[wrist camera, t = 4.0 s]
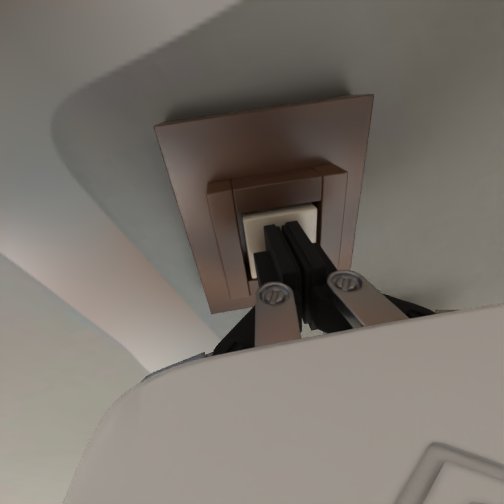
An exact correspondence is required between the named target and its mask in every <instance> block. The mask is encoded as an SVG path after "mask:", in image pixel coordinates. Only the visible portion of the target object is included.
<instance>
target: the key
mask: <svg viewBox="0 0 504 504" xmlns="http://www.w3.org/2000/svg"><path fill="white" fill-rule="evenodd" d="M241 216H242V223H243V229H244V235H245V242H246V248H247V255H248V261H249V266H250V272H251V277H252V278H257V275H256V269H255V262H254V255H253V253H256V252H262V251H266V247H265V238H264V226H266V225H272V224H275V226H276V227H277V226H279V227H280V229H281V231H282V226H283V225H285V223H286V222H290V221H296V220H297V221H298V223H299V224H300V226H301V227H302V229H303V230H304V232H305V233H306V235H307V236H308V238H309V239H310V241H311V242H312V243H316V230H317V208H316V207H315V206H314V205H313V204H312V203H311V202H309V203H303V204H297V205H291V206H284V207H278V208H272V209H266V210H259V211H253V212H247V213H241Z"/></svg>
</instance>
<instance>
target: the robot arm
mask: <svg viewBox="0 0 504 504" xmlns="http://www.w3.org/2000/svg"><path fill="white" fill-rule="evenodd" d="M264 238H265V247H266V251H262V252H256V253H253V255H254V262H255V269H256V275H257V280H258V285H259V288H258V290H257V292H256V305H255V306H254V307H253V308H252V309H251V310H250V311H249V312H248V313H247V314H246V315H245V316H244V317H243V319H242V320H241V321H240V322H239V323H238V324H237V325H236V326H235V327H234V328H233V329H232V330H231V331H230V332H229V333H228V334H227V335H226V336H225V337H224V338H223V339H222V341H221V342H220V343H219V344H218V345H217V346H216V348H215V349H214V352H211V353H209V354H206V355H205V352H203V353H201V354H198V355H196V356H193V357H191V358H189V359H186V360H183V361H181V362H178V363H176V364H173V365H171V366H168V367H166V368H163V369H161V370H158V371H156V372H153V373H151V374H150V375H148V376H146V377H145V378H144V379H143V380H142V381H141V382H140V383H139V384H137V385H136V386H134V387H133V388H131V389H130V390H129V391H127V392H126V393H125V394H123V395H122V396H121V397H120V398H119V399H118V400H117V401H115V402H114V403H113V404H112V406H111V407H110V408H109V409H108V411H107V412H106V413H105V415H104V416H103V418H102V419H101V421H100V422H99V424H98V426H97V427H96V429H95V431H94V433H93V435H92V437H91V439H90V441H89V443H88V445H87V447H86V449H85V451H84V453H83V456H82V458H81V460H80V462H79V465H78V467H77V469H76V472H75V474H74V476H73V479H72V481H71V484H70V486H69V488H68V491H67V493H66V496H65V498H64V501H63V503H62V504H504V304H497V305H489V306H482V307H476V308H470V309H463V310H435V313H434V312H433V311H431V310H429V309H427V308H424V307H422V306H419V305H416V304H413V303H410V302H406V301H403V300H400V299H397V298H394V297H391V296H388V295H385V294H382V293H381V292H380V291H379V290H377V289H376V288H375V287H374V286H373V285H372V284H371V283H370V282H368V281H367V280H366V279H365V278H364V277H363V276H362V275H360V274H359V273H356V272H354V271H350V270H337V268H336V267H335V266H334V264H333V263H332V261H331V260H330V259H329V257H328V256H327V254H326V253H325V252H324V250H323V249H322V247H321V246H320V245H319V243H317V242H316V243H312V242H311V241H310V239H309V238H308V236H307V235H306V233H305V232H304V230H303V229H302V227H301V226H300V224H299V223H298V221H297V220H296V221H290V222H286V223H285V225H283V226H282V231H281V229H280V227H279V226H277V227H276V226H275V224H272V225H266V226H264ZM302 319H303V321H304V323H305V324H307V323H308V324H309V326H310V328H311V330H317V329H319V330H321V331H323V335H318V336H313V337H307V338H302V339H301V334H300V333H301V331H302Z"/></svg>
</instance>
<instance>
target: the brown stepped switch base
mask: <svg viewBox="0 0 504 504" xmlns="http://www.w3.org/2000/svg"><path fill="white" fill-rule="evenodd" d="M373 100H374V94H364V95H348V96H341V97H334V98H327V99H321V100H314V101H307V102H300V103H293V104H286V105H279V106H272V107H265V108H258V109H251V110H245V111H238V112H231V113H224V114H217V115H210V116H203V117H196V118H189V119H182V120H175V121H169V122H163V123H160V124H158V125H155V126H154V130H155V133H156V136H157V139H158V143H159V146H160V149H161V152H162V156H163V159H164V162H165V165H166V169H167V172H168V175H169V178H170V181H171V185H172V188H173V191H174V194H175V198H176V201H177V204H178V207H179V211H180V214H181V217H182V220H183V224H184V227H185V230H186V233H187V236H188V240H189V243H190V246H191V249H192V253H193V256H194V259H195V262H196V266H197V269H198V272H199V275H200V279H201V282H202V285H203V288H204V291H205V295H206V298H207V301H208V304H209V308H210V311H211V314H215V313H220V312H226V311H232V310H238V309H243V308H249V307H254V306H255V305H256V292H257V290H258V288H259V285H258V280H257V278H252V277H251V272H250V266H249V261H248V255H247V248H246V242H245V235H244V229H243V223H242V216H241V213H247V212H253V211H259V210H266V209H272V208H278V207H284V206H291V205H297V204H303V203H309V202H311V203H312V204H313V205H314V206H315V207H316V208H317V230H316V242H317V243H319V245H320V246H321V247H322V249H323V250H324V252H325V253H326V254H327V256H328V257H329V259H330V260H331V261H332V263H333V264H334V266H335V267H336V268H337V270H350V267H351V259H352V252H353V245H354V238H355V230H356V223H357V216H358V209H359V201H360V194H361V187H362V179H363V172H364V165H365V158H366V150H367V143H368V136H369V129H370V121H371V114H372V107H373Z"/></svg>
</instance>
